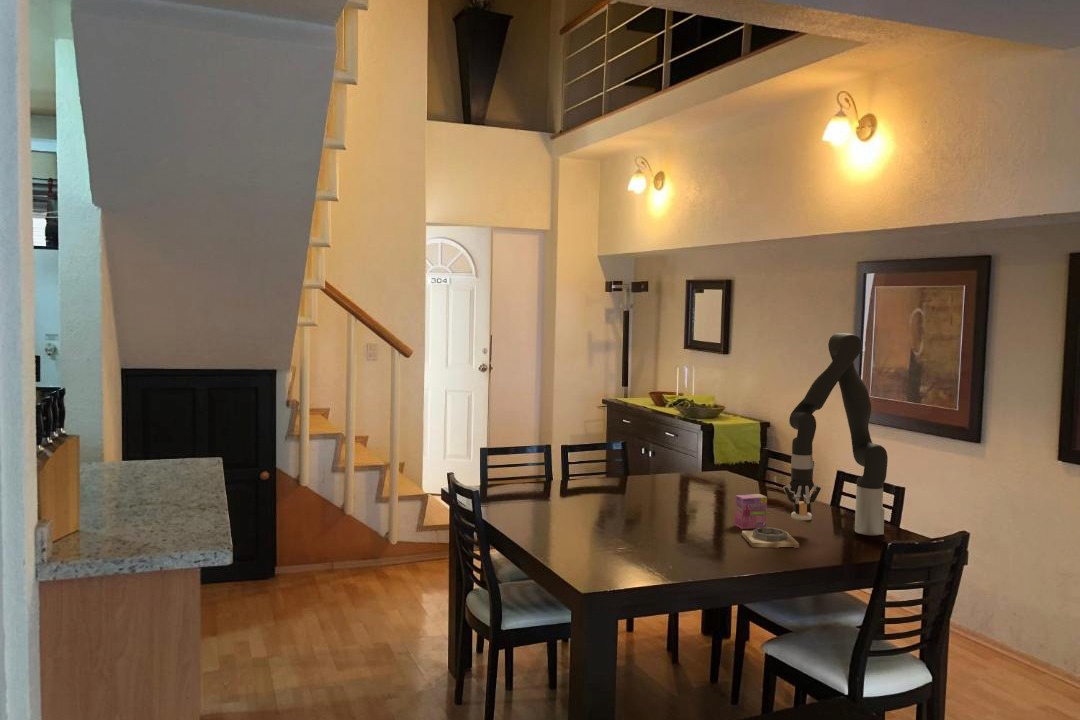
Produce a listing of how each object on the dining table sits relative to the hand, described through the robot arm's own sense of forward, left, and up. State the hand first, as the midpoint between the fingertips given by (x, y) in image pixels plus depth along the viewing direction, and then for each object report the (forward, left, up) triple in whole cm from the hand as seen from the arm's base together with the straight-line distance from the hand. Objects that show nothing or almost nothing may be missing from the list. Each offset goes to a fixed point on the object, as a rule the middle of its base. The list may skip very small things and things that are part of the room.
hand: (801, 513), depth 312 cm
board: (+13, +8, -8) cm, 18 cm away
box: (+15, -12, -8) cm, 21 cm away
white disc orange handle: (0, 0, -2) cm, 2 cm away
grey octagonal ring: (+13, +8, -7) cm, 17 cm away
